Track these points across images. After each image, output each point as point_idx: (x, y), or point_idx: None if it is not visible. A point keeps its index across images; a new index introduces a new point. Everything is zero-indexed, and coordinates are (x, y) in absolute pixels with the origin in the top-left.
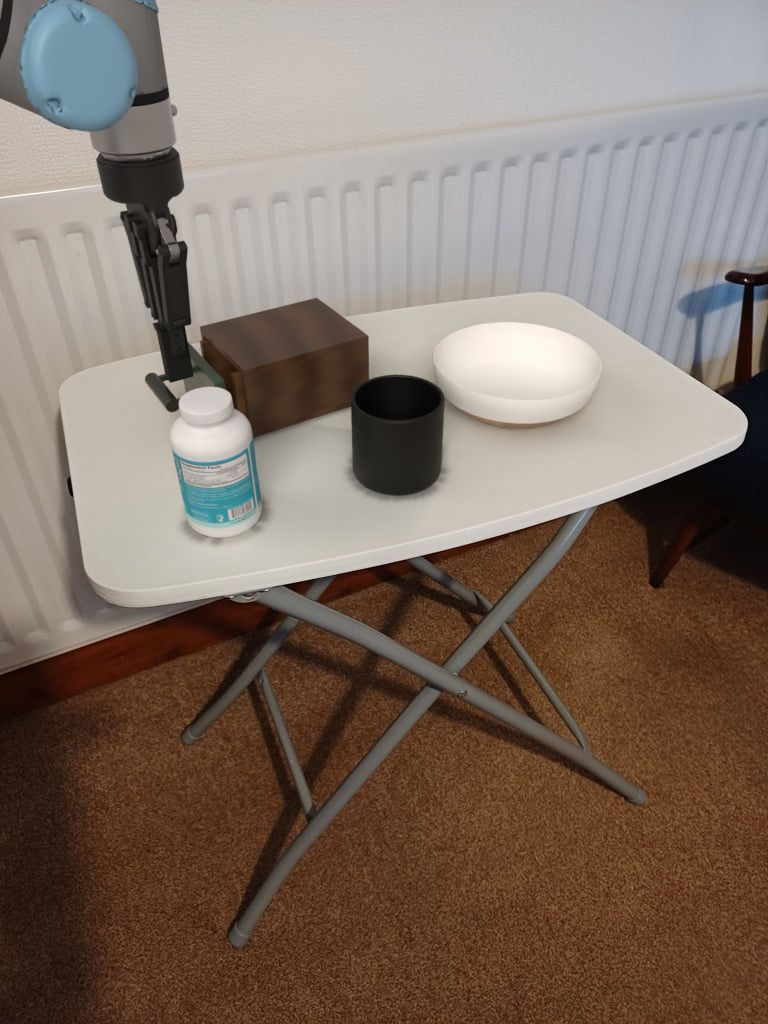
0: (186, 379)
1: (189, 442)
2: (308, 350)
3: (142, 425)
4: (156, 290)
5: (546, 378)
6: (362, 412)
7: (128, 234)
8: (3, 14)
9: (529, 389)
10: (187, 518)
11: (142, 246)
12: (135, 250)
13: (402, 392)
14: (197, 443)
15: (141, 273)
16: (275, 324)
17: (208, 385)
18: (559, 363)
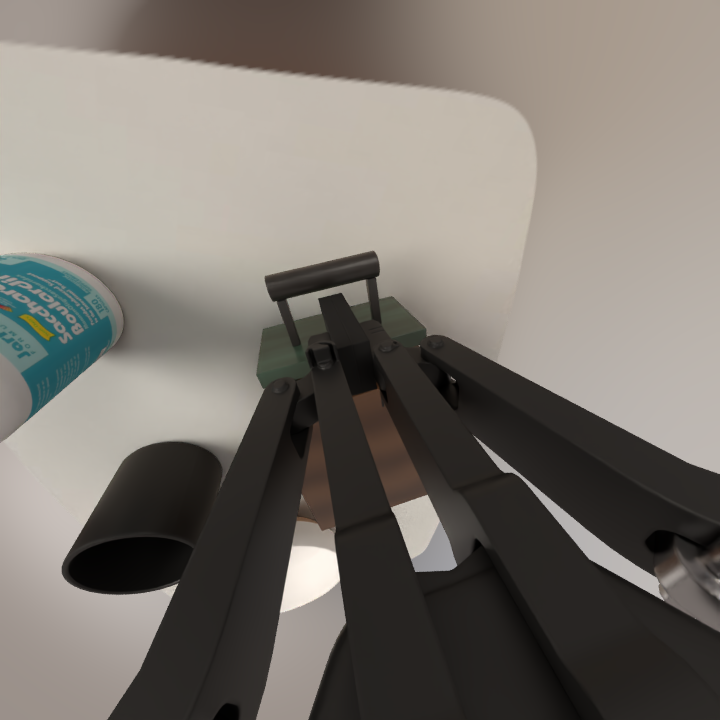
0: (386, 310)
1: None
2: (303, 488)
3: (345, 219)
4: (322, 442)
5: (294, 559)
6: (87, 546)
7: (681, 488)
8: None
9: None
10: (5, 254)
11: (368, 683)
12: (502, 511)
13: None
14: None
15: (490, 394)
16: (394, 456)
17: (289, 355)
18: (298, 574)
